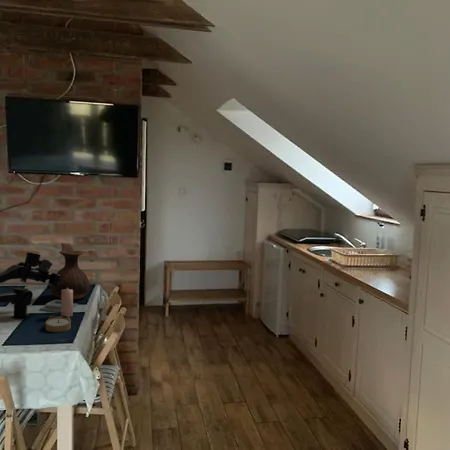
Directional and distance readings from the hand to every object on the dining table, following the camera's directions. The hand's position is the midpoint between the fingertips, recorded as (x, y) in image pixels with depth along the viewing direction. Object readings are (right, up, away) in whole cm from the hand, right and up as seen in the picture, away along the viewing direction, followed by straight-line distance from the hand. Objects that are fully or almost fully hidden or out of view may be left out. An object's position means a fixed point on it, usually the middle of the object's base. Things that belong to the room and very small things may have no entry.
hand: (58, 279), depth 266 cm
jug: (-1, -13, +23) cm, 26 cm away
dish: (0, -15, +1) cm, 15 cm away
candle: (+8, -17, -12) cm, 22 cm away
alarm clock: (+10, -19, -30) cm, 37 cm away
